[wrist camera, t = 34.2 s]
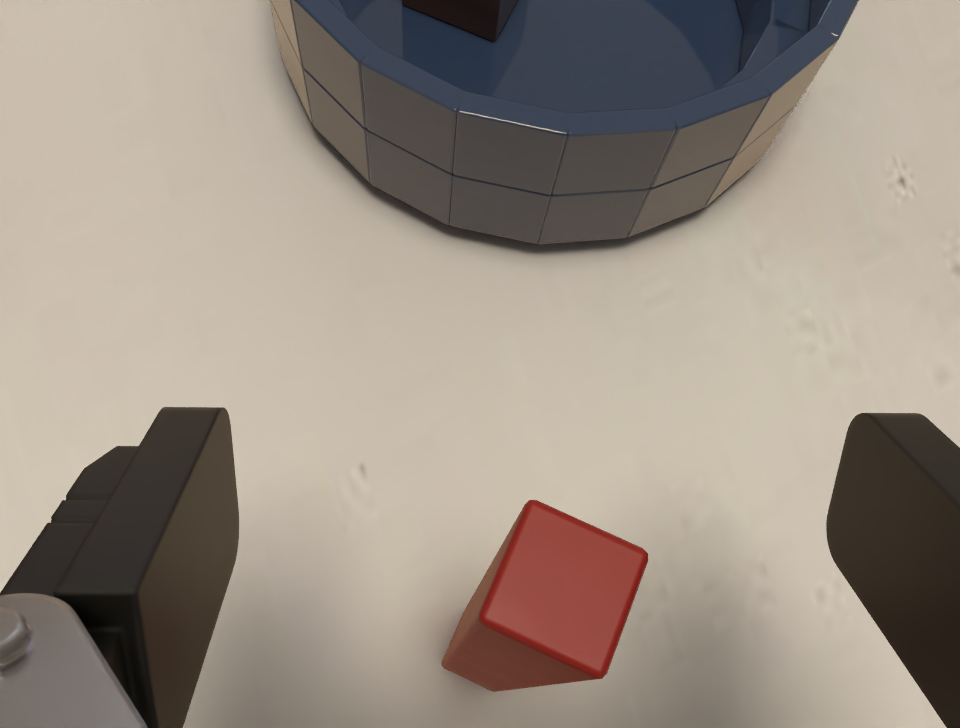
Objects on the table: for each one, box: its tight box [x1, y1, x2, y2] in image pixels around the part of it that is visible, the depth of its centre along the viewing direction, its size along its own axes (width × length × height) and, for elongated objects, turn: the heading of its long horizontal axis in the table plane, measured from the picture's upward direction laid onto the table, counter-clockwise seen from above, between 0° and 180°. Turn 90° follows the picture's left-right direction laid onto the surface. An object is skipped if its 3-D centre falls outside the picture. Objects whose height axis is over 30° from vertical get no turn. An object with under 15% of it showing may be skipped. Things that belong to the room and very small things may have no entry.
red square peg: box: [442, 500, 648, 691], centre depth 14 cm, size 1×1×12 cm
